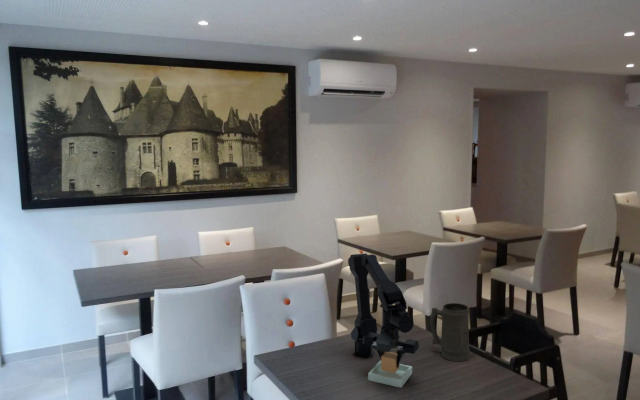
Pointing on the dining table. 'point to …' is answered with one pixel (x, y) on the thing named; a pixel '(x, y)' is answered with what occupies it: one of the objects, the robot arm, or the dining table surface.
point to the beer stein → (452, 331)
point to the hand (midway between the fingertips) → (390, 365)
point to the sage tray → (390, 375)
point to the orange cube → (389, 362)
